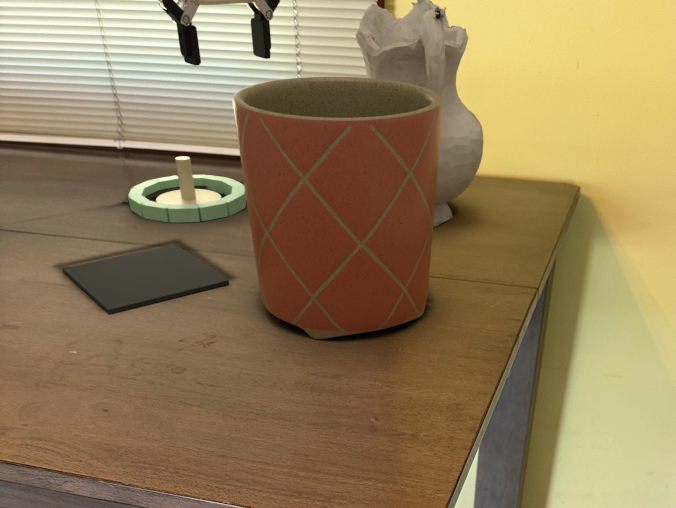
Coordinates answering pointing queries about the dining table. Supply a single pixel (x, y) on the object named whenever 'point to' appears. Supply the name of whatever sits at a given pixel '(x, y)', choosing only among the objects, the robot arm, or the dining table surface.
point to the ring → (188, 212)
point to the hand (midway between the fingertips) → (228, 60)
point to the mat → (144, 278)
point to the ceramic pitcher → (428, 84)
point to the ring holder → (187, 187)
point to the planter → (340, 198)
